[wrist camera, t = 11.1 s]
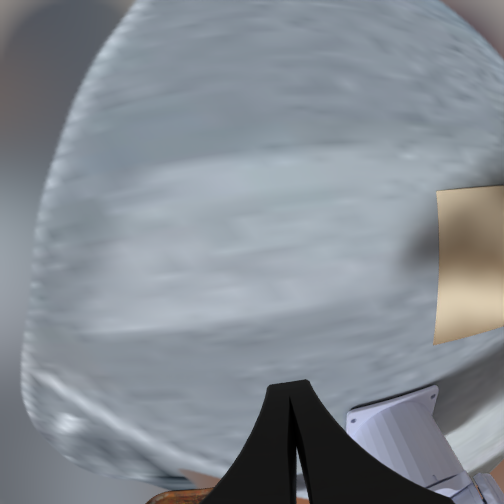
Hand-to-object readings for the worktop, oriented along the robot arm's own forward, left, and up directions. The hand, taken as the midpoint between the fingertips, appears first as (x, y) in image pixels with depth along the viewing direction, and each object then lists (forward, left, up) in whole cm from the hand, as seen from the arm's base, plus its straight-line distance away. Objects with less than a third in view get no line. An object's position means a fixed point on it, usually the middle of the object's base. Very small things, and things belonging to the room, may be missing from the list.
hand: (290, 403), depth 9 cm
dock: (0, -19, -9) cm, 21 cm away
